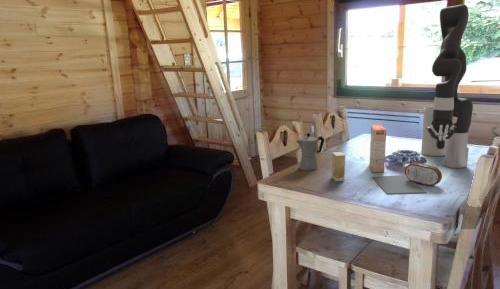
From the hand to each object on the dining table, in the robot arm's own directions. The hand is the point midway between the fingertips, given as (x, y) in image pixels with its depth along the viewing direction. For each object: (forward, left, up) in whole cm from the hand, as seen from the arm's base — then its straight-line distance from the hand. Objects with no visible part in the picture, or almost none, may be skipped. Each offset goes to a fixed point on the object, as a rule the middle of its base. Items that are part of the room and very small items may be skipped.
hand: (440, 148), depth 168 cm
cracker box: (+19, -24, -16) cm, 34 cm away
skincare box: (+41, -10, -16) cm, 45 cm away
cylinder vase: (-19, -47, -16) cm, 53 cm away
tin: (+7, 0, -15) cm, 17 cm away
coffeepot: (+51, -29, -16) cm, 61 cm away
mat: (+17, 0, -16) cm, 23 cm away
